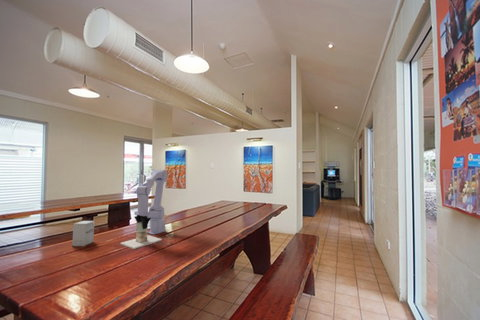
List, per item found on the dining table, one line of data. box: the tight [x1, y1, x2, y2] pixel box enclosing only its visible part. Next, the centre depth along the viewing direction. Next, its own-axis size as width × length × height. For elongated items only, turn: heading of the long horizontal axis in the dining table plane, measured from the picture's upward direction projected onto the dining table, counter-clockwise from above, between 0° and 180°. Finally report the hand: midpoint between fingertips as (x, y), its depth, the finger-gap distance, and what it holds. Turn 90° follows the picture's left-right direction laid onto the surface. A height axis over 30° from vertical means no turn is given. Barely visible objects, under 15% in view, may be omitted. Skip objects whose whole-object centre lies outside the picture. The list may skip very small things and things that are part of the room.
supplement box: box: [71, 220, 95, 247], centre depth 122 cm, size 7×7×13 cm
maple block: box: [135, 231, 149, 243], centre depth 126 cm, size 4×4×5 cm
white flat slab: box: [119, 234, 163, 250], centre depth 126 cm, size 18×14×1 cm
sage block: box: [135, 222, 149, 233], centre depth 126 cm, size 4×4×5 cm
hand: (142, 228), depth 126 cm, fingers closed on sage block, 4 cm apart
